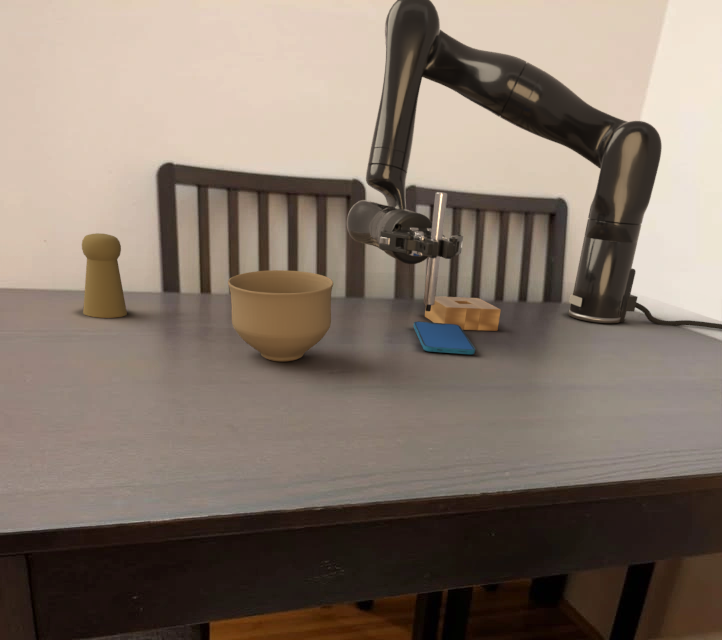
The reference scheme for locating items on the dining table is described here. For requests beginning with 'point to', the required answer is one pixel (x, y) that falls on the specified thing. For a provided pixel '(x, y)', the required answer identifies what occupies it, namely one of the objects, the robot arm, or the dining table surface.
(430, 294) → the stylus
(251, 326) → the bowl
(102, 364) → the dining table surface
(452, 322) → the holder
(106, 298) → the game pawn piece
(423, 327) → the smartphone
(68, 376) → the dining table surface
